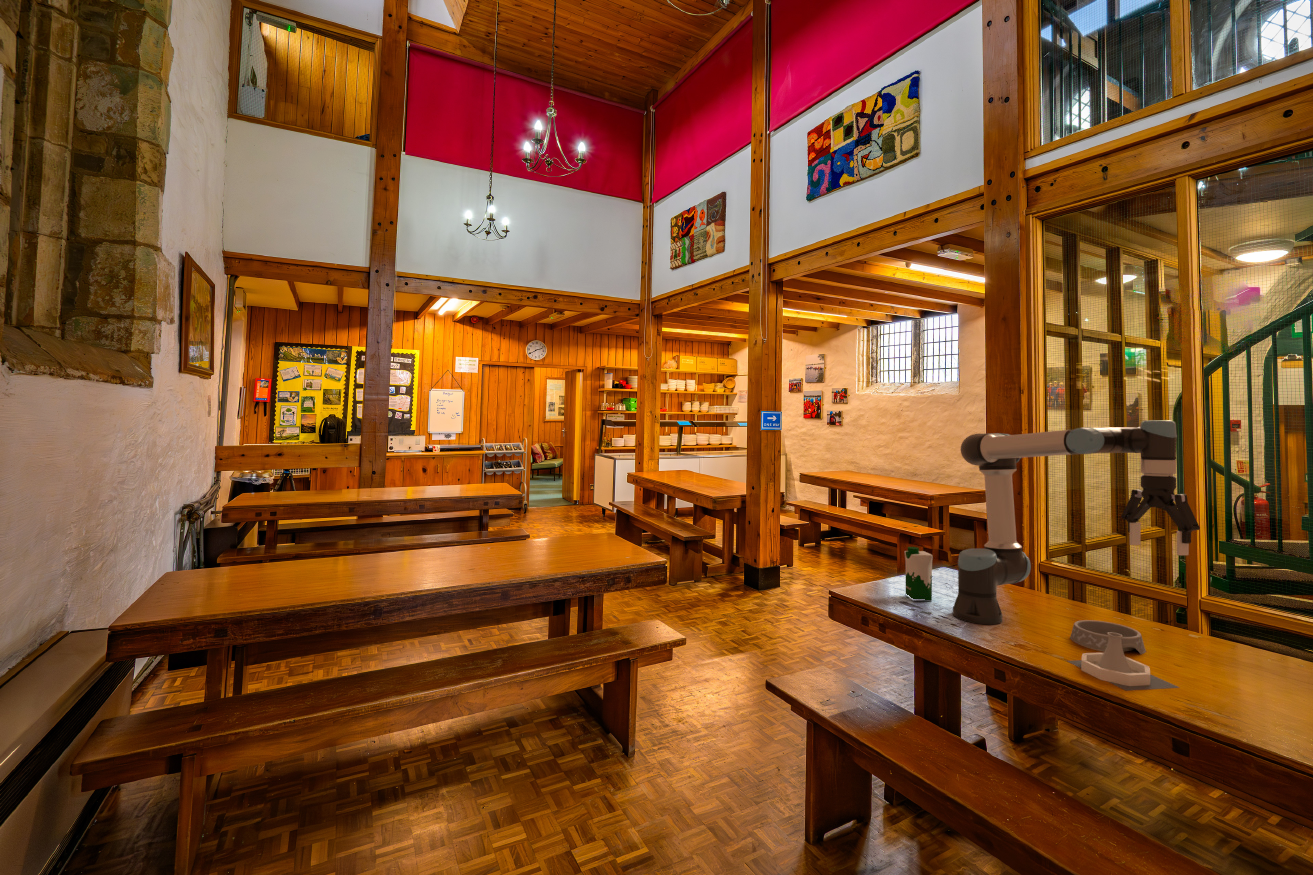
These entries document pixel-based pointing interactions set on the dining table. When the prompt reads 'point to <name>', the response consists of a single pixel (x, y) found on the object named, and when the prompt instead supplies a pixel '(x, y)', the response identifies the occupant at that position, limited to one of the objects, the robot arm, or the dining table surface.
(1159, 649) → the dining table surface
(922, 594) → the milk carton
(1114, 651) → the flask
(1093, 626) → the dog bowl
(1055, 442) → the robot arm
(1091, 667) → the bowl
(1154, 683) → the mat
